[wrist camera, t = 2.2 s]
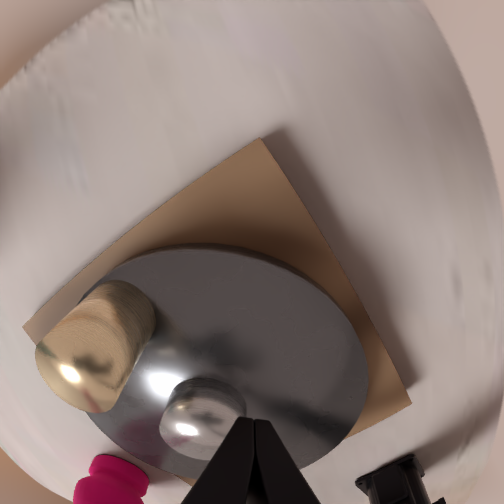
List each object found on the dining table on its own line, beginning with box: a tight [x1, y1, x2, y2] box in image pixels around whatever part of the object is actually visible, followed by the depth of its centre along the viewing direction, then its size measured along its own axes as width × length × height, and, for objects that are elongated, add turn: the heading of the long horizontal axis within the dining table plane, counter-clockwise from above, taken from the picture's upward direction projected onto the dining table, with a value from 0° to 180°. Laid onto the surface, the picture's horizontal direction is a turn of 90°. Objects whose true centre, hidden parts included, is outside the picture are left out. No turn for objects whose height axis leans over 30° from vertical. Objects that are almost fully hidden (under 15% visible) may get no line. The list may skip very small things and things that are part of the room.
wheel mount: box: [23, 138, 412, 487], centre depth 18 cm, size 20×20×2 cm
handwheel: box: [35, 243, 369, 480], centre depth 14 cm, size 18×18×7 cm
